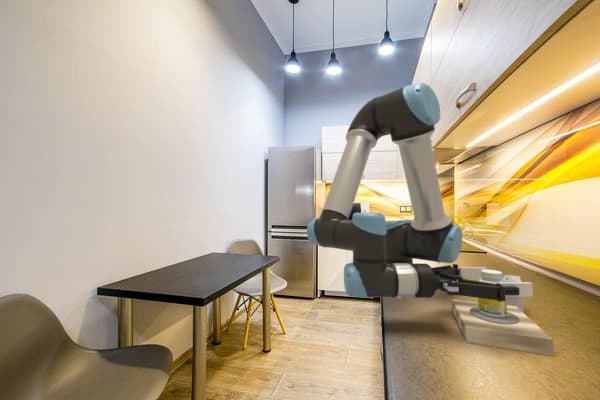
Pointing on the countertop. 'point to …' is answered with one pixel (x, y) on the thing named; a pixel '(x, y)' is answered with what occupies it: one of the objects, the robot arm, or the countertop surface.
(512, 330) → the birch board
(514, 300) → the medicine box
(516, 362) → the countertop surface
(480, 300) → the supplement bottle
